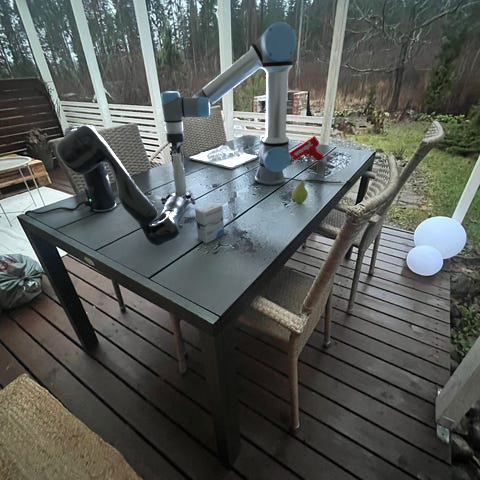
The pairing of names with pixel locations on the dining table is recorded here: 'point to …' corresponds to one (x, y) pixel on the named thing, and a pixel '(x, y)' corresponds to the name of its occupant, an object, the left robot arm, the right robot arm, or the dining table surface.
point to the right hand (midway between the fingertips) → (180, 183)
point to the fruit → (300, 192)
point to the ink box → (209, 221)
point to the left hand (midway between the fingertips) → (182, 191)
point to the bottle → (179, 176)
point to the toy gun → (307, 149)
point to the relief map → (224, 157)
